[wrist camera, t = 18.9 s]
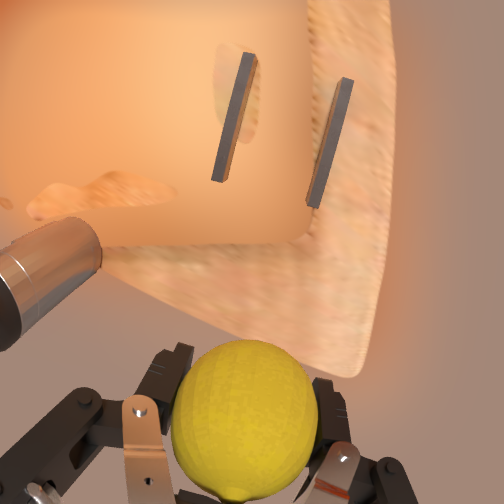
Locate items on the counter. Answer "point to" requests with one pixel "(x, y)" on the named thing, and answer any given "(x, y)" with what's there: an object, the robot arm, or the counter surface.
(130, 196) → the counter surface
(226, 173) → the guide channel
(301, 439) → the lemon
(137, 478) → the robot arm
